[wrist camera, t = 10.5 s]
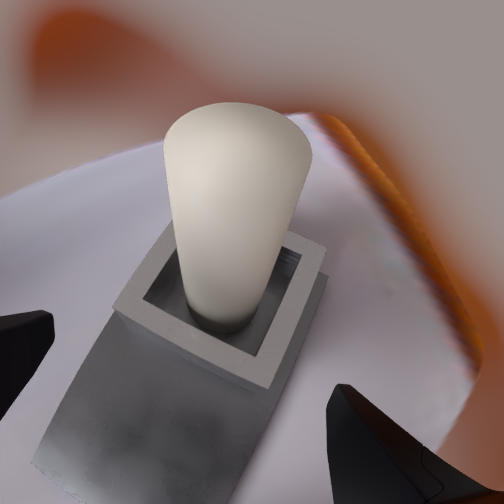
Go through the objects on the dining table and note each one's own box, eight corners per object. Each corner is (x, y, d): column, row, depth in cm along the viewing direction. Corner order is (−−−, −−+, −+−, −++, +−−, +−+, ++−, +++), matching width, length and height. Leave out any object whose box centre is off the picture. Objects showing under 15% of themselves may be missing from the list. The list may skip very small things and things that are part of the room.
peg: (228, 347, 18) (254, 228, 7) (172, 302, 19) (132, 147, 8) (272, 294, 20) (336, 144, 9) (218, 254, 21) (229, 89, 10)
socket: (191, 554, 12) (187, 582, 8) (38, 461, 13) (4, 465, 9) (323, 282, 22) (344, 254, 18) (184, 218, 23) (181, 182, 20)
